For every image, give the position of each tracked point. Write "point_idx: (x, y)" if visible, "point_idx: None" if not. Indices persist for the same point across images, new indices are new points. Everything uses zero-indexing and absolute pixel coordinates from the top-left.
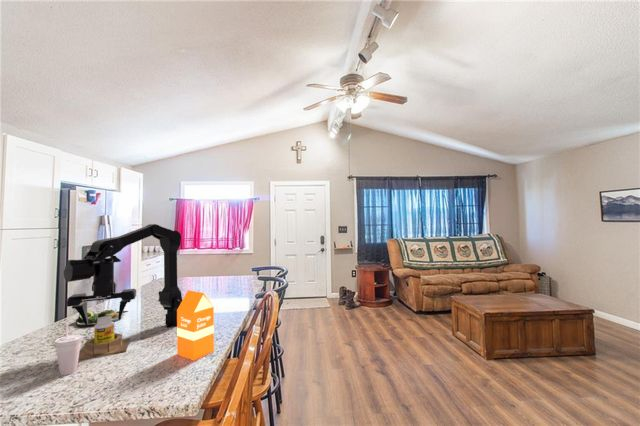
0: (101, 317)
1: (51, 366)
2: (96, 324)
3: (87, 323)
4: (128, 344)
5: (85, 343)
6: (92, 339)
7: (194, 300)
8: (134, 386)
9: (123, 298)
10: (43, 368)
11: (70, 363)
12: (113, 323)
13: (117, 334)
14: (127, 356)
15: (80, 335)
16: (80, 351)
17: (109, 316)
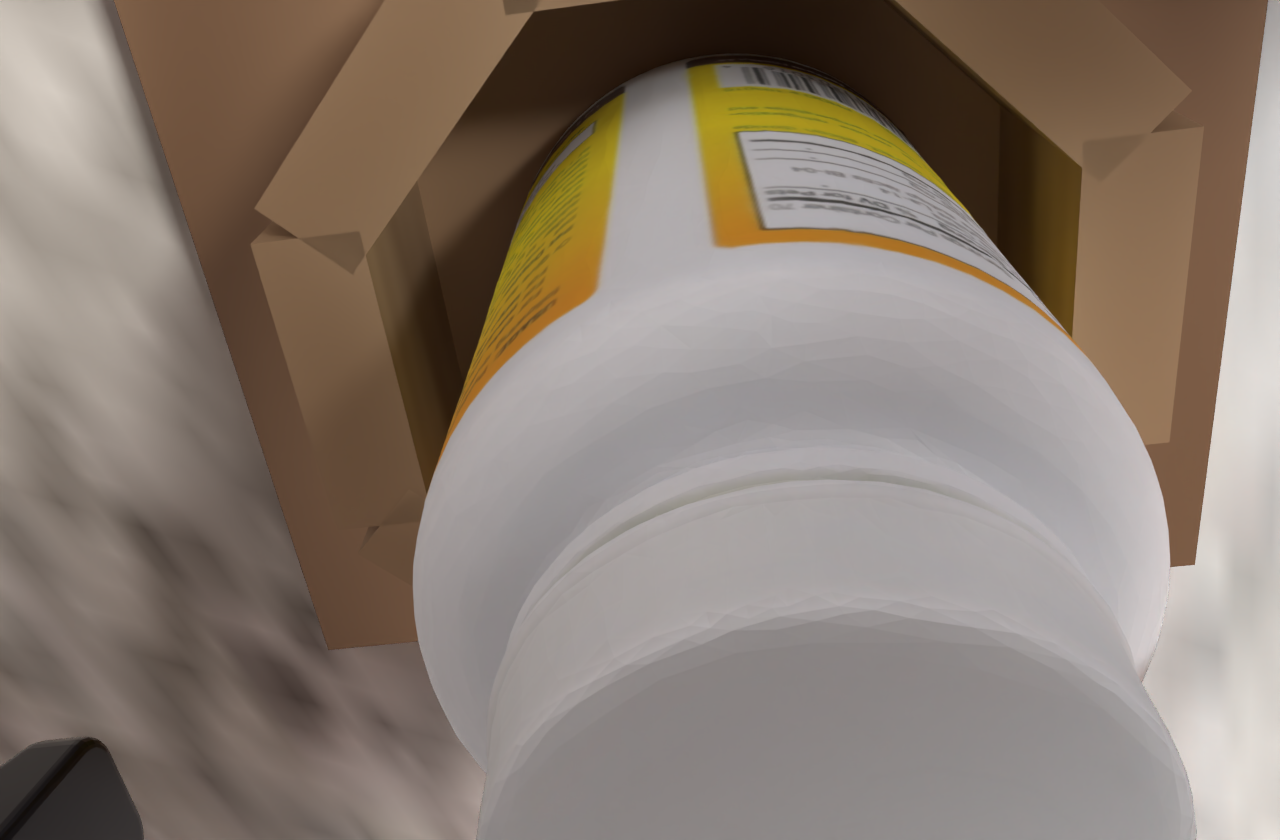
0: (633, 805)
1: (85, 703)
2: (476, 685)
3: (108, 820)
4: (1233, 148)
5: (350, 514)
6: (380, 229)
7: None
8: None
9: None
10: (3, 732)
11: None
12: (1153, 642)
13: (1049, 47)
14: (1214, 738)
15: None
16: (239, 281)
17: (1087, 786)
